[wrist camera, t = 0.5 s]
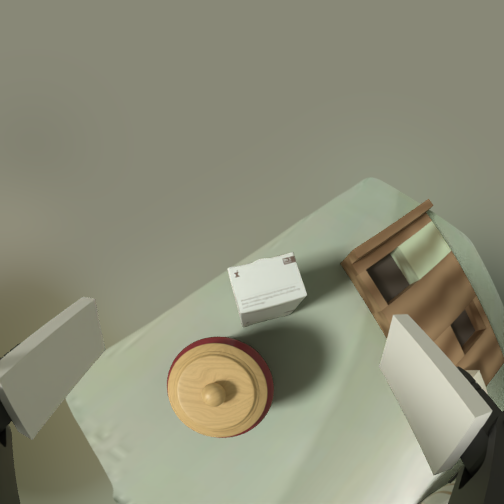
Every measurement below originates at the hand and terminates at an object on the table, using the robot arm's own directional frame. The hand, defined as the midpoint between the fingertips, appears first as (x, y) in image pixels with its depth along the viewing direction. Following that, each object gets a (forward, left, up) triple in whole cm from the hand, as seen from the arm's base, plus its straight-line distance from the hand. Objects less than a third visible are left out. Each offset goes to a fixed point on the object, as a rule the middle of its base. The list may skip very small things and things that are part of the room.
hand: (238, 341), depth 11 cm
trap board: (-15, -30, -34) cm, 48 cm away
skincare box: (+5, -5, -35) cm, 35 cm away
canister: (-3, +6, -35) cm, 35 cm away
